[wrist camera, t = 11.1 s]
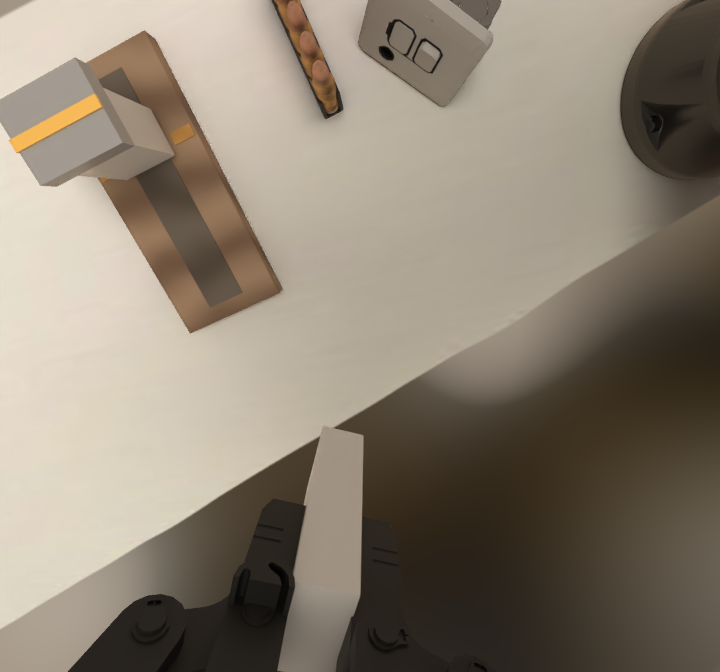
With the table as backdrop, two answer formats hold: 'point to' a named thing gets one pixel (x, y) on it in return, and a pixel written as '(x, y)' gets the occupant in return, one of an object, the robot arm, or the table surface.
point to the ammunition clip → (309, 55)
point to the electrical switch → (429, 41)
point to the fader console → (183, 199)
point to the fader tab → (81, 128)
